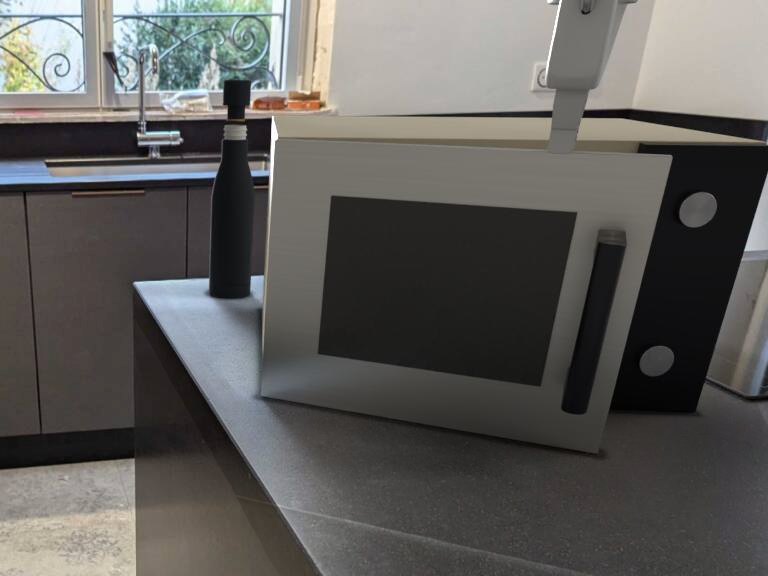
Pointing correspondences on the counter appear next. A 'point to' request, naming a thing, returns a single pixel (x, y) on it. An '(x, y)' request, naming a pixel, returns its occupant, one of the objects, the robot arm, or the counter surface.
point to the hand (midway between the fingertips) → (562, 148)
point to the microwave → (669, 243)
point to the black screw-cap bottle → (232, 202)
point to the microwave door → (457, 283)
